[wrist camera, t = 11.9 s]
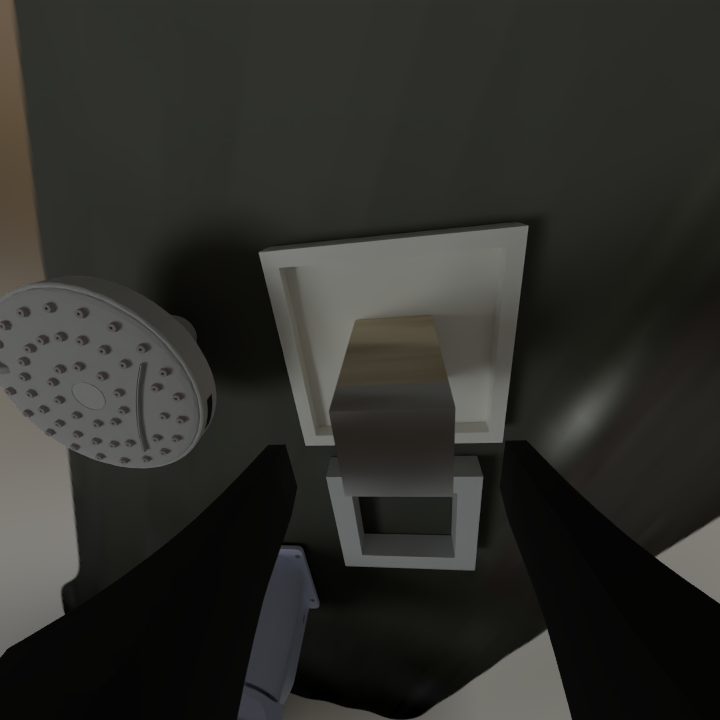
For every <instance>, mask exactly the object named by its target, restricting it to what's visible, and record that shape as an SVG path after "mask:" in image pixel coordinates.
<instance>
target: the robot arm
mask: <svg viewBox="0 0 720 720" xmlns="http://www.w3.org/2000/svg"><path fill="white" fill-rule="evenodd" d="M500 489H501V494H502V498H503V502H504V506H505V510H506V513H507V517H508V520H509V523H510V526H511V529H512V531H513V534H514V537H515V539H516V542H517V545H518V547H519V550H520V553H521V555H522V558H523V560H524V563H525V566H526V568H527V571H528V574H529V576H530V579H531V582H532V584H533V587H534V589H535V592H536V595H537V597H538V600H539V603H540V606H541V609H542V612H543V615H544V619H545V622H546V626H547V629H548V633H549V636H550V640H551V643H552V647H553V650H554V653H555V657H556V661H557V664H558V668H559V672H560V676H561V679H562V683H563V687H564V690H565V694H566V698H567V702H568V705H569V709H570V713H571V717H572V720H720V604H719V603H718V602H716V601H715V600H714V599H712V598H710V597H709V596H708V595H706V594H705V593H704V592H702V591H701V590H699V589H698V588H696V587H695V586H694V585H692V584H690V583H689V582H687V581H686V580H685V579H684V578H682V577H681V576H679V575H678V574H676V573H675V572H674V571H673V570H671V569H670V568H668V567H667V566H666V565H664V564H663V563H661V562H660V561H659V560H658V559H656V558H655V557H654V556H653V555H651V554H650V553H649V552H647V551H646V550H645V549H644V548H642V547H641V546H640V545H638V544H637V543H636V542H635V541H633V540H632V539H631V538H630V537H628V536H627V535H626V534H625V533H624V532H622V531H621V530H620V529H619V528H618V527H616V526H615V525H614V524H613V523H612V522H611V521H610V520H608V519H607V518H606V517H605V516H604V515H603V514H601V513H600V512H599V511H598V510H597V509H596V508H595V507H594V506H593V505H591V504H590V503H589V502H588V501H587V500H586V499H585V498H584V497H583V496H582V495H581V494H580V493H579V492H578V491H577V490H575V489H574V488H573V487H572V486H571V485H570V484H569V483H568V482H567V481H566V480H565V479H564V478H563V477H562V476H561V475H560V474H559V473H558V472H557V471H556V470H555V469H554V468H553V467H552V466H551V465H550V464H549V463H548V462H547V461H546V460H545V459H544V458H543V457H542V456H541V455H540V454H539V453H538V452H537V451H536V450H535V449H534V448H533V447H532V446H531V444H530V443H528V442H527V441H526V440H521V441H506V442H505V450H504V458H503V466H502V474H501V482H500ZM296 490H297V484H296V481H295V477H294V474H293V470H292V466H291V463H290V459H289V456H288V452H287V448H286V445H268V446H267V447H266V448H265V449H264V450H263V451H262V452H261V453H260V454H259V455H258V457H257V458H256V459H255V460H254V461H253V462H252V463H251V464H250V465H249V466H248V467H247V468H246V469H245V470H244V471H243V472H242V473H241V474H240V476H239V477H238V478H237V479H236V480H235V481H234V482H233V483H232V484H231V485H230V486H229V487H228V488H227V489H226V490H225V491H224V492H223V493H222V494H221V495H220V496H219V497H218V498H217V499H216V500H215V501H214V502H213V503H212V504H211V505H209V506H208V507H207V508H206V509H205V510H204V511H203V512H202V513H201V514H200V515H199V516H198V517H197V518H196V519H195V520H193V521H192V522H191V523H190V524H189V525H188V526H187V527H186V528H184V529H183V530H182V531H181V532H180V533H178V534H177V535H176V536H175V537H174V538H172V539H171V540H170V541H169V542H168V543H166V544H165V545H164V546H163V547H161V548H160V549H159V550H158V551H156V552H155V553H154V554H152V555H151V556H150V557H148V558H147V559H146V560H144V561H143V562H142V563H140V564H139V565H138V566H136V567H135V568H133V569H132V570H131V571H129V572H128V573H127V574H125V575H124V576H123V577H121V578H120V579H118V580H117V581H116V582H114V583H113V584H111V585H110V586H108V587H107V588H105V589H104V590H102V591H101V592H99V593H98V594H96V595H95V596H93V597H92V598H90V599H89V600H87V601H86V602H84V603H83V604H81V605H80V606H78V607H76V608H75V609H73V610H72V611H70V612H68V613H67V614H65V615H64V616H62V617H60V618H59V619H57V620H55V621H54V622H52V623H50V624H49V625H47V626H45V627H44V628H42V629H40V630H39V631H37V632H35V633H34V634H32V635H30V636H29V637H27V638H25V639H24V640H22V641H20V642H18V643H17V644H15V645H13V646H11V647H10V648H8V649H7V650H6V652H5V653H4V654H3V655H2V656H1V658H0V720H282V718H283V713H284V708H285V706H284V705H283V703H284V702H285V700H286V699H287V697H288V695H289V693H290V691H291V688H292V686H293V683H294V679H295V674H296V669H297V664H298V659H299V654H300V650H301V645H302V640H303V635H304V630H305V625H306V620H307V615H308V610H309V608H318V607H319V603H320V602H319V599H318V596H317V592H316V589H315V586H314V583H313V579H312V576H311V573H310V570H309V566H308V563H307V560H306V557H305V553H304V550H303V548H302V547H300V546H290V545H282V543H283V540H284V537H285V534H286V531H287V527H288V524H289V521H290V518H291V514H292V510H293V505H294V501H295V495H296Z"/></svg>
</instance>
